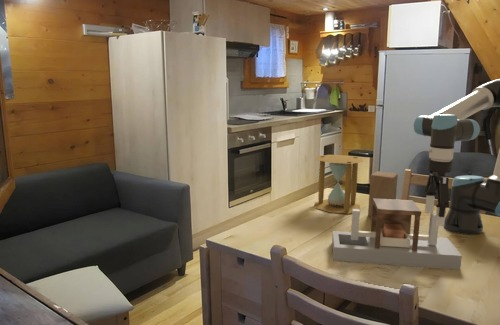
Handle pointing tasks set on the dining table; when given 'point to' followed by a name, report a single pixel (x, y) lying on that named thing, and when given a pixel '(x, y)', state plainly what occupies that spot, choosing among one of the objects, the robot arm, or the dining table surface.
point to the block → (393, 231)
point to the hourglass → (337, 198)
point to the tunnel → (395, 217)
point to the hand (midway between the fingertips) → (433, 219)
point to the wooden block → (382, 187)
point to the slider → (394, 241)
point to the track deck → (395, 252)
